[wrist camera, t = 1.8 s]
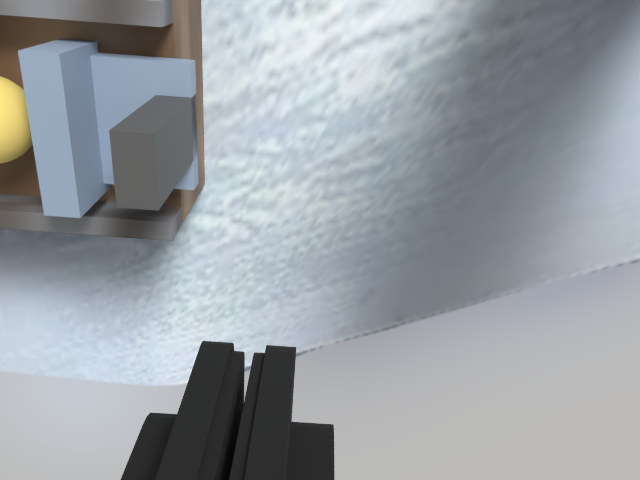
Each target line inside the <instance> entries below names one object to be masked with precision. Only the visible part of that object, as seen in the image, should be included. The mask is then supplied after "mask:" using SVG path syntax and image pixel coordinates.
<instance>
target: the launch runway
mask: <svg viewBox="0 0 640 480" xmlns="http://www.w3.org/2000/svg"><path fill="white" fill-rule="evenodd" d="M61 38H64V39H77V40H90V41H98V50H99V53H111V54H124V55H137V56H150V57H163V58H176V59H189V60H195V71H196V109H197V147H198V185H197V186H196V188H195V190H184V189H173V191H172V192H171V194H170V195H169V196H168V198H167V199H166V201H165V202H164V204H163V205H162V207H161V208H160V209H159V211H157V210H143V209H129V208H117V207H116V197H115V186H114V184H112V186H111V187H110V188H109V189H108V190H107V191H106V193H105V194H104V195H103V196H102V197H101V198H100V199H99V200H98V201H97V202H96V203H95V204H94V205H93V206H92V207H91V208H90V209H89V210H88V211H87V212H86V213H85V214H84V215H83V216H82V217H81V218H73V217H59V216H45V215H44V211H43V205H42V199H41V193H40V186H39V180H38V174H37V168H36V161H35V155H34V149H33V144H32V146H31V147H30V148H29V150H28V151H26V152H25V153H24V154H23V155H22V156H20V157H18V158H16V159H14V160H12V161H9V162H5V163H0V229H14V230H28V231H42V232H56V233H70V234H84V235H98V236H112V237H126V238H140V239H154V240H168V241H172V240H173V239H174V237H175V235H176V233H177V232H178V230H179V228H180V226H181V225H182V223H183V221H184V219H185V218H186V216H187V214H188V212H189V211H190V209H191V207H192V205H193V204H194V202H195V200H196V198H197V197H198V195H199V193H200V191H201V190H202V188H203V186H204V184H205V174H204V126H203V78H202V30H201V0H0V76H1V77H4V78H7V79H9V80H11V81H12V82H14V83H15V84H17V85H18V86H20V87H21V88H22V89H23V90H24V86H23V80H22V74H21V68H20V61H19V55H18V50H22V49H26V48H29V47H33V46H36V45H40V44H44V43H47V42H51V41H54V40H58V39H61Z"/></svg>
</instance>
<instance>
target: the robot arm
mask: <svg viewBox="0 0 640 480" xmlns="http://www.w3.org/2000/svg"><path fill="white" fill-rule="evenodd" d="M295 358H296V347H284V346H270V345H267V346H266V351H265V353H254V355H253V360H252V365H251V371H250V376H249V381H248V386H247V391H246V396H245V401H244V352H239V351H234V344H233V343H225V342H210V341H203V342H202V343H201V346H200V349H199V352H198V354H197V357H196V360H195V363H194V366H193V369H192V372H191V375H190V378H189V381H188V384H187V387H186V390H185V393H184V396H183V399H182V402H181V405H180V408H179V411H178V414H177V415H176V414H162V413H150V414H149V415H148V416H147V417H146V419H145V422H144V424H143V426H142V429H141V431H140V433H139V436H138V439H137V441H136V443H135V446H134V448H133V451H132V453H131V456H130V458H129V461H128V463H127V465H126V468H125V471H124V473H123V475H122V478H121V480H334V428H333V425H331V424H315V423H299V422H291V419H292V404H293V389H294V388H293V387H294V372H295Z"/></svg>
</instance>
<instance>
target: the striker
mask: <svg viewBox="0 0 640 480" xmlns="http://www.w3.org/2000/svg"><path fill="white" fill-rule="evenodd" d="M18 55H19V61H20V68H21V74H22V80H23V86H24V93H25V99H26V105H27V111H28V118H29V124H30V130H31V136H32V143H33V149H34V155H35V161H36V168H37V174H38V180H39V186H40V193H41V199H42V205H43V211H44V215H45V216H59V217H73V218H81V217H82V216H83V215H84V214H85V213H86V212H87V211H88V210H89V209H90V208H91V207H92V206H93V205H94V204H95V203H96V202H97V201H98V200H99V199H100V198H101V197H102V196H103V195H104V194H105V193H106V191H107V190H108V189H109V188H110V187H111V186H112V184H114V186H115V197H116V207H117V208H129V209H143V210H157V211H159V209H160V208H161V207H162V205H163V204H164V202H165V201H166V199H167V198H168V196H169V195H170V194H171V192H172V191H173V189H184V190H195V188H196V186H197V185H198V147H197V109H196V71H195V60H189V59H176V58H163V57H150V56H137V55H124V54H111V53H99V50H98V41H90V40H77V39H64V38H61V39H58V40H54V41H51V42H47V43H44V44H40V45H36V46H33V47H29V48H26V49H22V50H18Z"/></svg>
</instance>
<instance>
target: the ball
mask: <svg viewBox="0 0 640 480" xmlns="http://www.w3.org/2000/svg"><path fill="white" fill-rule="evenodd" d="M32 144H33V143H32V136H31V130H30V124H29V118H28V111H27V105H26V99H25V93H24V90H23V89H22V88H21V87H20V86H18V85H17V84H15V83H14V82H12V81H11V80H9V79H7V78H4V77H1V76H0V163H5V162H9V161H12V160H14V159H16V158H18V157H20V156H22V155H23V154H24V153H25V152H26V151H28V150H29V148H30V147H31V146H32Z"/></svg>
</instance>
